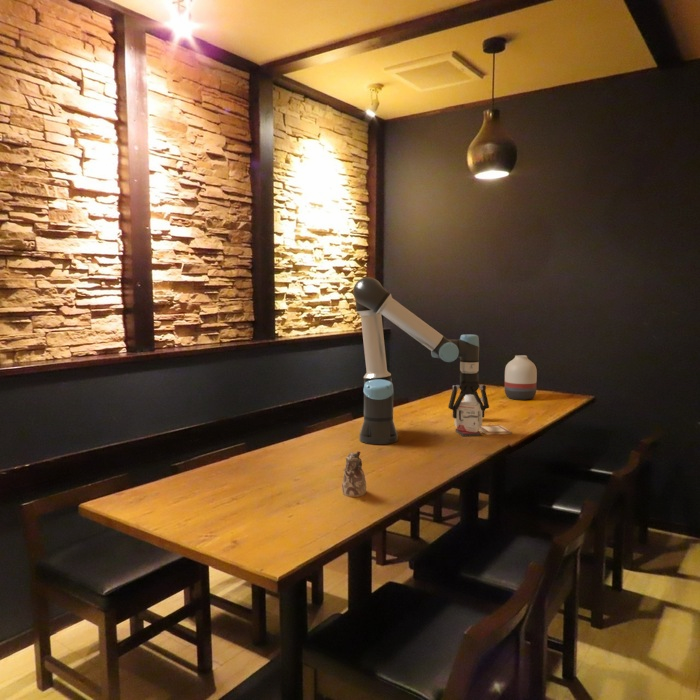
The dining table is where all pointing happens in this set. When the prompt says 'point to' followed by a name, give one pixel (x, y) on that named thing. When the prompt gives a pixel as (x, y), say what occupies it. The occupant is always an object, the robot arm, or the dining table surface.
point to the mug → (471, 398)
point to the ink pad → (468, 433)
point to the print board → (494, 430)
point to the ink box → (469, 416)
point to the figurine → (354, 476)
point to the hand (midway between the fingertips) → (468, 425)
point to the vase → (520, 378)
